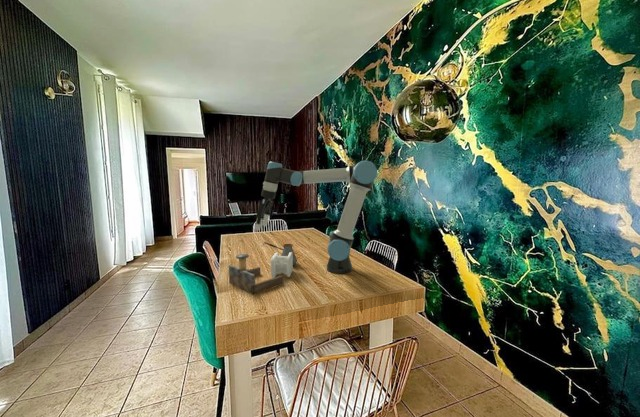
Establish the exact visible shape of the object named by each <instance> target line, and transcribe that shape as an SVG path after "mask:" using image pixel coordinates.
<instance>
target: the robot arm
mask: <svg viewBox="0 0 640 417" xmlns="http://www.w3.org/2000/svg"><path fill="white" fill-rule="evenodd" d="M377 176H378V169H377V167H376V165H375V163H373V162H372V161H370V160H361V161H358V162H357V163H356V164H353V165H348V166H347V167H342V168H338V167H337V168H328V169H327V168H326V169H313V170H299V171H297V170H292V169H288V168H284V167H283V164H282V163H280V162H274V161H269V162H268V164H267V167H266V172H265V176H264V181H263V182H262V185H263V186H262V190H261V194H260V196H261V197H263V198H261V200H260V204H259V207H258V209H257V213H256V215H255V218H256V221H255V225H254V231H255V230H256V231H260V230H261V227H262V226H264V227H267V226H268V222H269V219H270V216H271V215H272V207H273V206H272V205H273V204H272V203H273V200H274V199H275V198H276V195H277V190H278V185H279V182H280V183H284V184H288V185H291V186H296V187H300V185H306V184H307V185H309V184H320V183H321V184H322V183H323V184H324V183H337V182H339V183H340V182H348V183H349V185H350V189H349V193H348V195H347V198H346V201H345V204H344V207H343V211H342V213H341V216H340V219H339V223H338V225H337V229H335V230H333V231H330V232H329V243H328V245H327V248H326V249H327V253H328V256H329V257H328V260H327V265H326V270H327V271H328V272H329V273H333V274H348V273H351V272H352V271H353V265H352V261H351V258H350V253H351V248H352V245H353V242H354V239H355V238H354V235H353V232H354V230H355V228H356V225H357V221H358V218H359V215H360V214H361V209H362V208H363V204H364V202H365V198H366V195H367V193H368V192H369V191H371V190H372V186H373V184H374V181H375V180H376V178H377Z"/></svg>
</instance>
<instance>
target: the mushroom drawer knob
mask: <svg viewBox="0 0 640 417" xmlns="http://www.w3.org/2000/svg"><path fill="white" fill-rule="evenodd" d="M248 258H249V253H248V254H247V253H243V254H242V253H239V254H237V255H235V259H237V260H238V268H240V271H241V272H242V271H246V270H250V268H249V269H248V268H247V259H248Z"/></svg>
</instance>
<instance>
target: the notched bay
mask: <svg viewBox="0 0 640 417" xmlns="http://www.w3.org/2000/svg"><path fill="white" fill-rule="evenodd" d="M256 276H261V267H260V266H258V267H255V268H249V270H246V271H242V272H241V271H240V268H239V266H238V267H237V266H235V265H232V264H231V265H228V279H229V283H230V284H231V285H233V286H235V287H237V288H240V289H241V290H243V291H245V292H247V293H249V294H251V295H255V294H258V293H261V292H263V291H266V290H270V289H272V288H276V287H279V286H281V285H283V284H284V276H283V275H282V274H281V275H278V276H276V277H275V278H272V277H271V278H269V279H267V280H262V281H260V282H257V283H256Z"/></svg>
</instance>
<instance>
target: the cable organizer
mask: <svg viewBox="0 0 640 417" xmlns="http://www.w3.org/2000/svg"><path fill="white" fill-rule="evenodd" d="M269 263H270V277H271V279H272V278H275V277H277V275H280V274H283V275H284V276H285V275H286V277H287V278H290V277H291V275H292V272H293V270H294V269H293V267H294V266H293V254H292V252H289V254H288V256H281V255H280V253H279V252H275V253H274V254H273V255H272V257H271V258H270V260H269Z"/></svg>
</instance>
